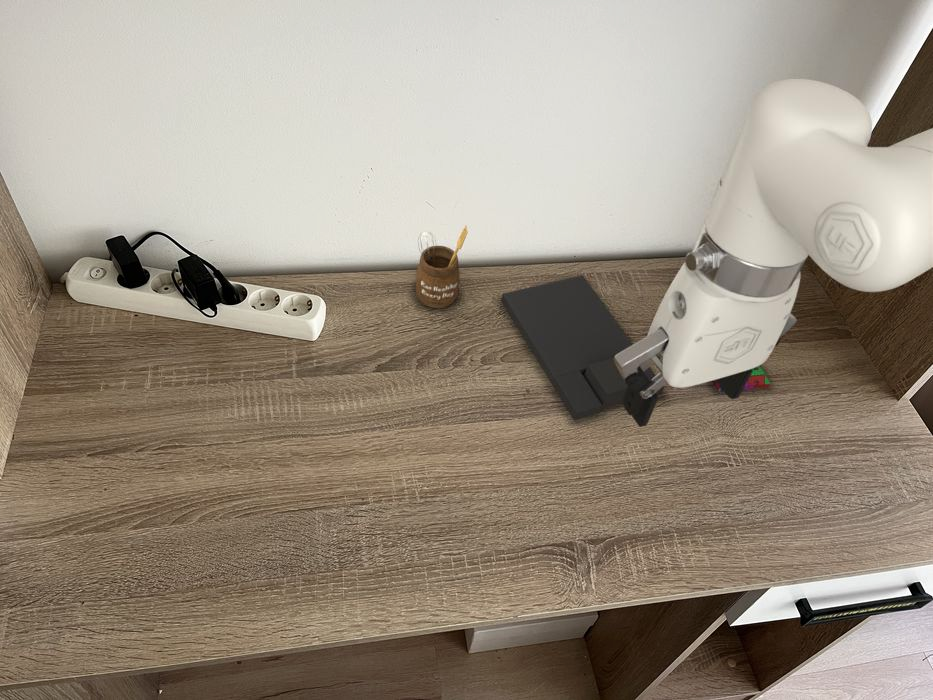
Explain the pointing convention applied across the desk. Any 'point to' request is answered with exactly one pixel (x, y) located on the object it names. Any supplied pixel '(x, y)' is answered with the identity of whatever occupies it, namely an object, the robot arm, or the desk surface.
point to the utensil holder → (438, 274)
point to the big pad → (568, 336)
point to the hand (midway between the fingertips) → (680, 400)
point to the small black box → (606, 382)
